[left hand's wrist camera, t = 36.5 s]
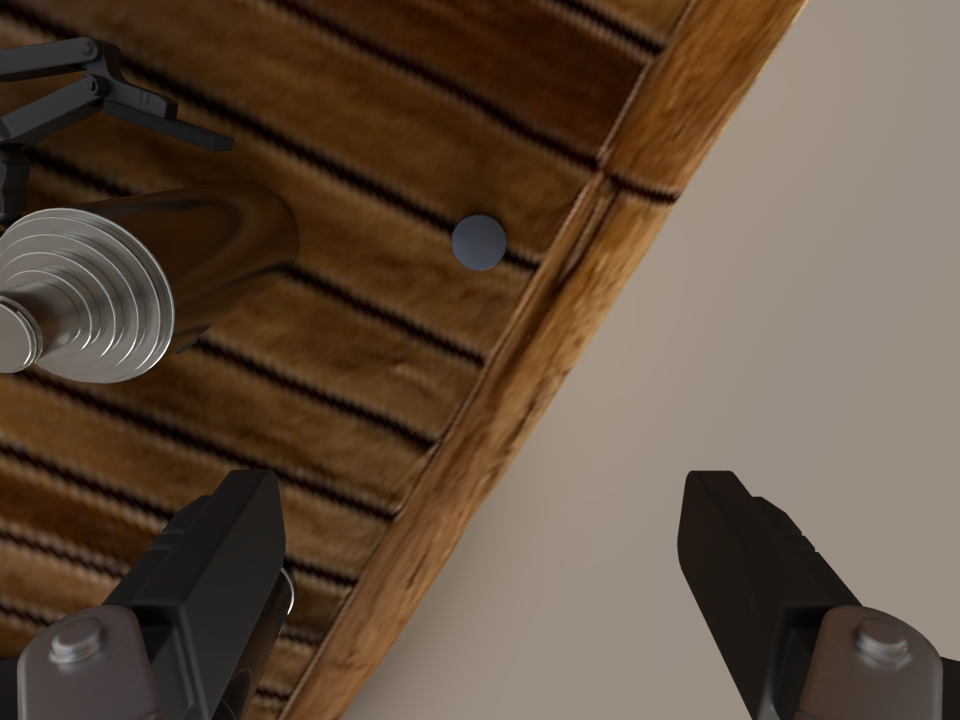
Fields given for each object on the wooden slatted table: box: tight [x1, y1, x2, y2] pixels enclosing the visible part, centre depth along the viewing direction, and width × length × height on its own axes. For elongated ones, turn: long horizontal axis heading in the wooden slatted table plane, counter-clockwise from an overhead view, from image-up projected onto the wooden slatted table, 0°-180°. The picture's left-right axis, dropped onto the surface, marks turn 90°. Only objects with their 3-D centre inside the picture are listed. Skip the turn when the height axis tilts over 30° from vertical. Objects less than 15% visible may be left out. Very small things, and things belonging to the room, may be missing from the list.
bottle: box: [0, 181, 299, 383], centre depth 33 cm, size 8×8×24 cm
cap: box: [451, 212, 507, 270], centre depth 43 cm, size 4×4×2 cm
